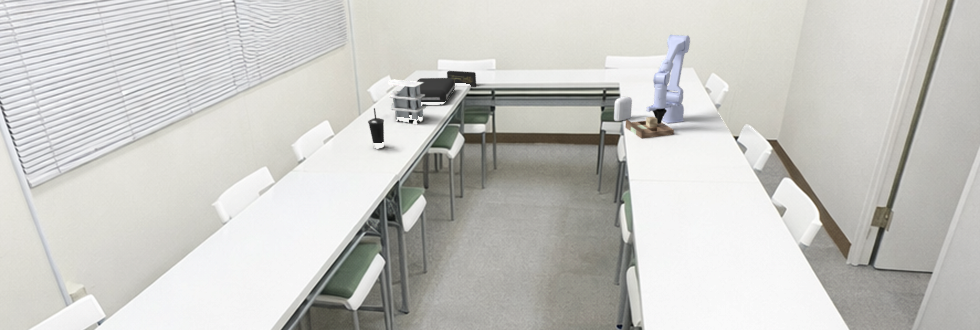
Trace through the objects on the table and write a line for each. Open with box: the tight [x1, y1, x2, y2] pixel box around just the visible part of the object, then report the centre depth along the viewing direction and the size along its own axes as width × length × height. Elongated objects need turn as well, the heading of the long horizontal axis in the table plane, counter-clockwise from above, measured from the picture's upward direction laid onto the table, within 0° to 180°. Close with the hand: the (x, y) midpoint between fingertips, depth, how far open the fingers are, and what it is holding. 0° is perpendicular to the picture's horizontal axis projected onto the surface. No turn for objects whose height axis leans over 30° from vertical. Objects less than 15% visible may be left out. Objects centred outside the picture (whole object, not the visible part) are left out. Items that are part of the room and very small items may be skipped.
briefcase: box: [416, 77, 456, 102], centre depth 363 cm, size 36×32×10 cm
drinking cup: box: [367, 107, 385, 144], centre depth 278 cm, size 8×8×20 cm
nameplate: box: [446, 70, 477, 88], centre depth 389 cm, size 21×2×10 cm, turn 65°
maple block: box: [645, 116, 657, 127], centre depth 285 cm, size 4×4×4 cm
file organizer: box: [388, 78, 427, 120], centre depth 318 cm, size 26×35×22 cm
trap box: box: [625, 119, 675, 139], centre depth 286 cm, size 17×18×4 cm
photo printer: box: [613, 95, 633, 122], centre depth 304 cm, size 10×4×12 cm, turn 123°
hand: (658, 123), depth 286 cm, fingers closed
